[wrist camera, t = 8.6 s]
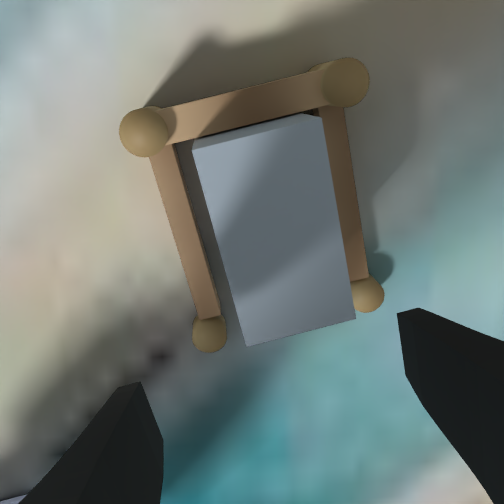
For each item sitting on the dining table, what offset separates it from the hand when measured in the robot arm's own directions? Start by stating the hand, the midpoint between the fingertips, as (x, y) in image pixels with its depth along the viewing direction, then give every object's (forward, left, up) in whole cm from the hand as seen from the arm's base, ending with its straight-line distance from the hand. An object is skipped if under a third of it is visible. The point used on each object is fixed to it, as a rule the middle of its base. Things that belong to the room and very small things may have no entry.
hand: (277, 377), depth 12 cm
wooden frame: (+1, +2, -9) cm, 10 cm away
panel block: (+1, +3, -10) cm, 10 cm away
